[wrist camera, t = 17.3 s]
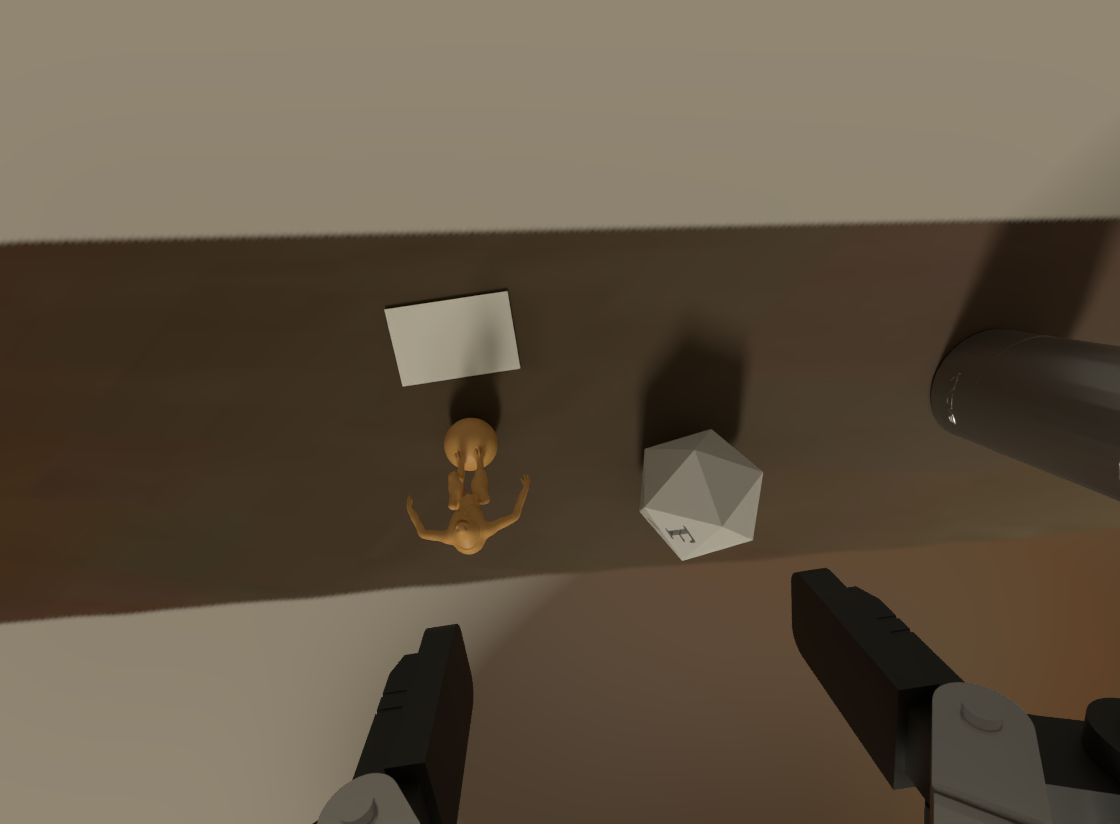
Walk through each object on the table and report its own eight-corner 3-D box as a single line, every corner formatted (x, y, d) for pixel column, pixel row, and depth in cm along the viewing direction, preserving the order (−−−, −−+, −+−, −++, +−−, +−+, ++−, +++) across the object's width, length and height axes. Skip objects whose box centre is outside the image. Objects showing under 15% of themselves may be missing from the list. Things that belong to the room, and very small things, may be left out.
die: (605, 457, 42) (629, 516, 33) (698, 396, 41) (751, 438, 32) (658, 532, 45) (695, 607, 35) (747, 475, 44) (811, 537, 34)
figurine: (520, 402, 40) (520, 459, 29) (534, 471, 42) (539, 552, 31) (415, 421, 40) (372, 487, 29) (434, 490, 42) (401, 578, 30)
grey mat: (507, 290, 38) (507, 291, 38) (520, 367, 40) (520, 368, 39) (385, 309, 38) (384, 309, 37) (403, 385, 39) (402, 386, 39)
